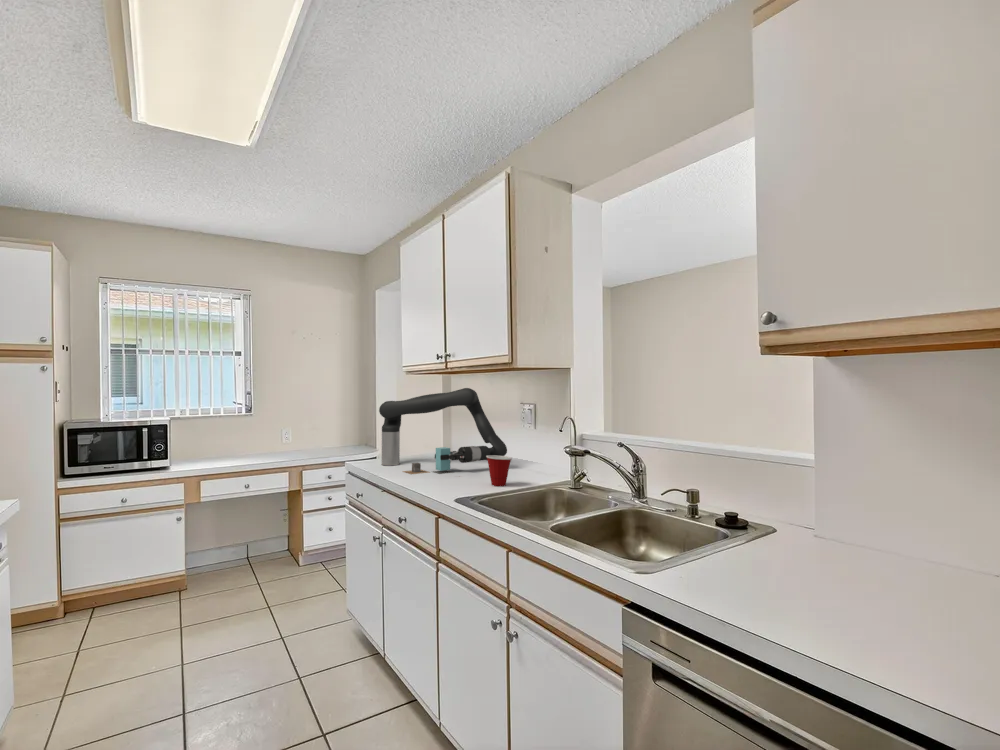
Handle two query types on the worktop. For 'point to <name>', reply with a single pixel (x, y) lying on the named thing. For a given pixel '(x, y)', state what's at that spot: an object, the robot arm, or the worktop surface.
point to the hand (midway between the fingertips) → (438, 457)
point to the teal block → (442, 464)
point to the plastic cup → (498, 469)
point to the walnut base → (416, 469)
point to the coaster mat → (443, 472)
